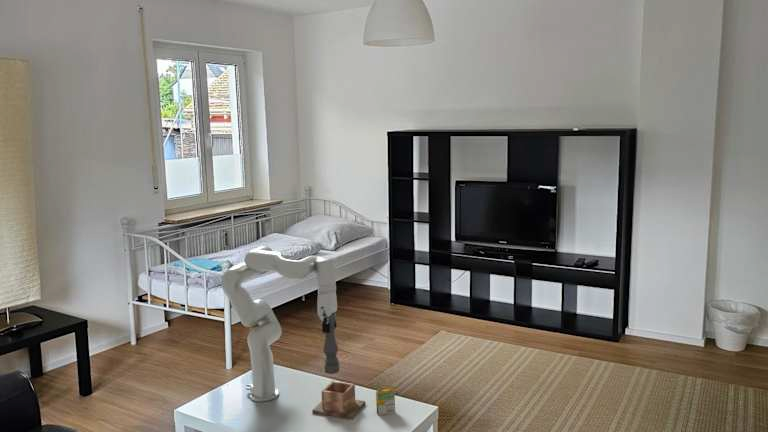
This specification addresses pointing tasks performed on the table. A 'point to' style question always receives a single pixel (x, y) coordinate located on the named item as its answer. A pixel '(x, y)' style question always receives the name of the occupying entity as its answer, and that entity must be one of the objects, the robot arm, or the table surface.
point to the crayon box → (385, 401)
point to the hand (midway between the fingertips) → (329, 329)
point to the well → (339, 401)
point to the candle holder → (331, 348)
